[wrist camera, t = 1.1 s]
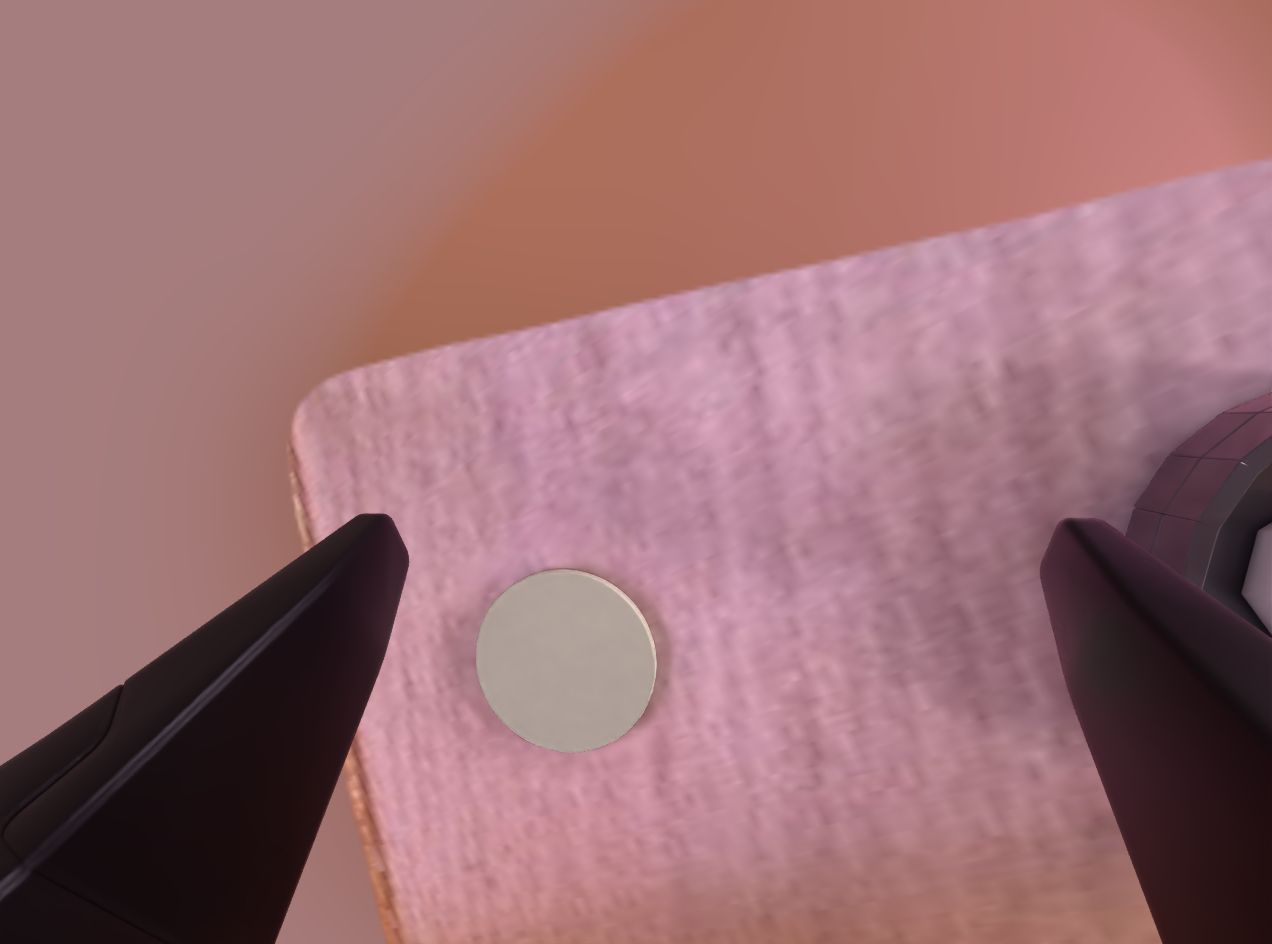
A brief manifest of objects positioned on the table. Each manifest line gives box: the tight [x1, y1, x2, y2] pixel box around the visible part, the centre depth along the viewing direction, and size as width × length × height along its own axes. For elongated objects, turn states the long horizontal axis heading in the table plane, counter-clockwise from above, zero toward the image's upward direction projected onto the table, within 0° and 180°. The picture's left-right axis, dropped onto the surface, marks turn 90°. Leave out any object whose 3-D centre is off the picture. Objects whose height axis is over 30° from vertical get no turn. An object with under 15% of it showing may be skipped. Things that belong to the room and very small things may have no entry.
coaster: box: [476, 569, 657, 753], centre depth 25 cm, size 7×7×1 cm
